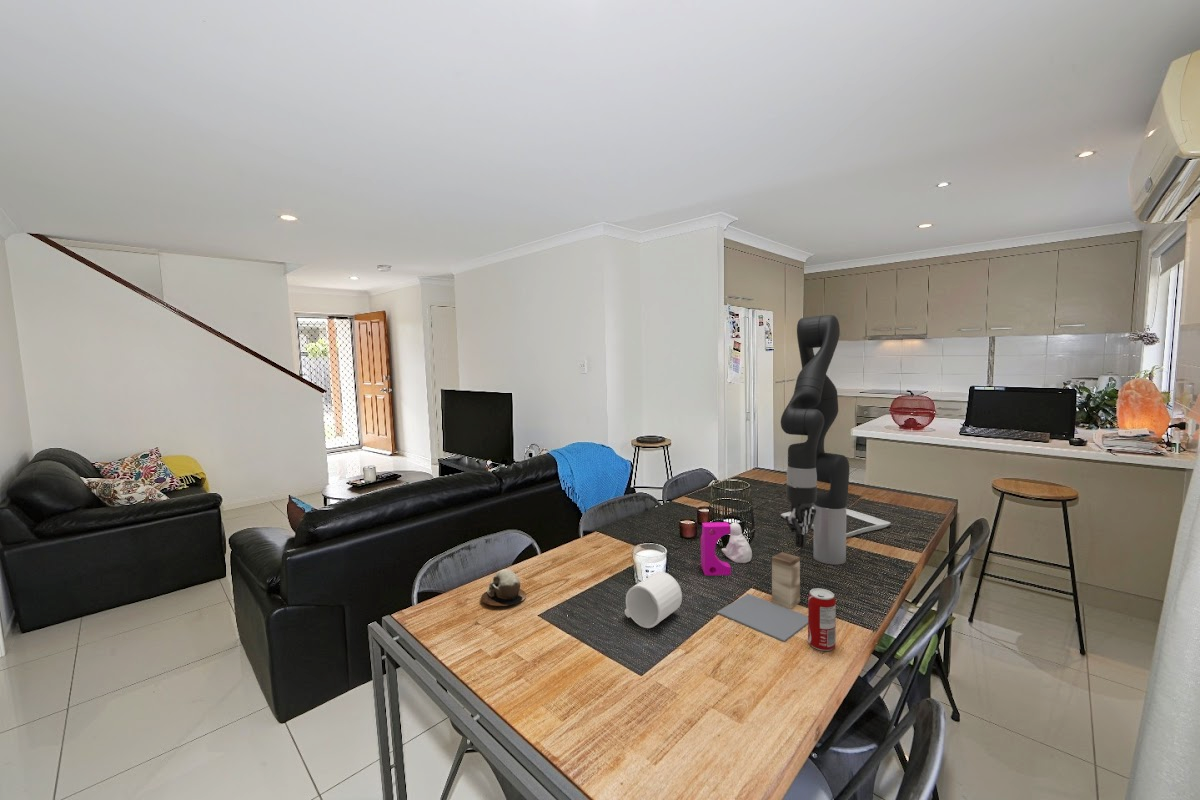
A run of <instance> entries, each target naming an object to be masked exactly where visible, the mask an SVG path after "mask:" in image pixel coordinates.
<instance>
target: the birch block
mask: <svg viewBox="0 0 1200 800" xmlns="http://www.w3.org/2000/svg"><path fill="white" fill-rule="evenodd" d="M771 602H772V603H774V604H777V605H780V606H783V607H785V608H788V609H791V610H792V608H794V607H795V606H797V605H798V604H800V603H801V557H800V556H797V555H795V554H794V555H793V554H791V553H786V552H783V551H781V552H779V553H777V554H774V555H773V556H772V557H771Z"/></svg>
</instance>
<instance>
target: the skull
mask: <svg viewBox="0 0 1200 800" xmlns="http://www.w3.org/2000/svg"><path fill="white" fill-rule="evenodd" d="M526 598H527V593H526V592H525V590H523V589H521V581H520V578H519V577H518V575H517V574H516V573H515V572H513V570H510V569H508V568H504V569H501V570H499V571H496V573H495V574H494V576H493V577H492V580H491V581H490V582H489V584H488V588H487V590H486V592H484V593H482V595H481V597H480V601H482V602H483V604H486V605H489V606H493V607H494V606H495V607H496V606H497V607H502V606H503V607H505V606H512V605H516V604H519V603H521V602H523V601H524V600H525V599H526Z"/></svg>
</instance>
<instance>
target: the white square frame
mask: <svg viewBox="0 0 1200 800" xmlns="http://www.w3.org/2000/svg"><path fill="white" fill-rule="evenodd" d="M812 509H814V506H812ZM790 514H791V511H787V512H784V513H780V516H781V517H782V518H783V519H785V517H786V516H790ZM846 516H850V517H853V518H855V519H858V520H861V521H865V522H867V523H871V524H873V525H870V526H866V527H863V528H859V529H856V530H852V531H850V532H846V538H850V537H854V536H857V535H860V534H864V533H868V532H873V531H876V530H877V531H878V530H881V529H885V528H887V527H888V526H890V525H891V521H888V520H883V519H881V518H878V517H875V516H873V515H869V514H865V513H862V512H858V511H857V510H856V511H855V510H852V509H848V508H846ZM810 530H813V531H814V523H812V526H811V529H810Z"/></svg>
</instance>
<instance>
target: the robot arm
mask: <svg viewBox="0 0 1200 800" xmlns="http://www.w3.org/2000/svg"><path fill="white" fill-rule="evenodd" d="M840 331H841V330H840V322H839V320H838V317H837V316H835V315H832V314H824V315H823V314H822V315H815V316H814V315H813V316H806V317H805V316H804V317H802V318H800V319H799V320H798V321H797V325H796V337H797V344H798V345H797V346H798V349H799V356H800V363H801V370H800V371H799V373H798V375H797V378H796V383H795V386H794V391H793V395H792V397H791V399H790V400H789V402H788V404H787V405H786V406H785V409H784V411H783V412H782V414H781V417H780V426H781V430H782V431H783V432H784V433H785V434H788V435H794V436H795V435H796V436H807V440H806V441H804V442H800V443H799V442H798V443H791V444H790V445H789V446H788V447H787V470H786V487H785V488H786V500H787V501H788V502H790V504H791V505H790V510H789V512H791V514H790V516H786V517H785V518H784V520H785V522H786V524H787V525H788V528H789V530H790V532H791V533H794V534H795V547H796V548H800V549H804V548H806V547H807V534H808V532H809V530H812V529H811V526H812V524H813V525H814V530H813V545H812V546H813V550H812V551H813V555H812V556H813V559H814V560H815V561H817V562H819V563H823V564H826V565H834V566H835V565H836V566H839V565H843V564H846V562H847V537H846V534H847V514H846V509H847V502H848V496H849V486H850V485H849V483H850V482H849V481H850V479H849V478H850V461H849V459H848V458H847V457H846V455H843V454H839V453H838V454H837V453H832V452H830V453H829V452H825V439H826V436H827V433H828V431H829V430H830V428H831V427H832V425H833V424H834V422H835V420H836V419H837V417H838V414H839V400H838V391H837V390H838V389H837V388H836V385H835V384H834V382H833V381H832V380H831V379H830V378H829V376H828V375H827V372H828V370H829V367H830V364H831V362H832V359H833V357H834V354H835V351H836V349H837V345H838V342H839V340H840V339H839V338H840ZM817 348H818V349H819V350H818V351H817V352H816V354H815V352H814V349H817ZM818 482H819V483H825V484H830V487H829V490H828V491H821V492H818V485H817V484H818ZM812 507H814V509H812Z"/></svg>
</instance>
